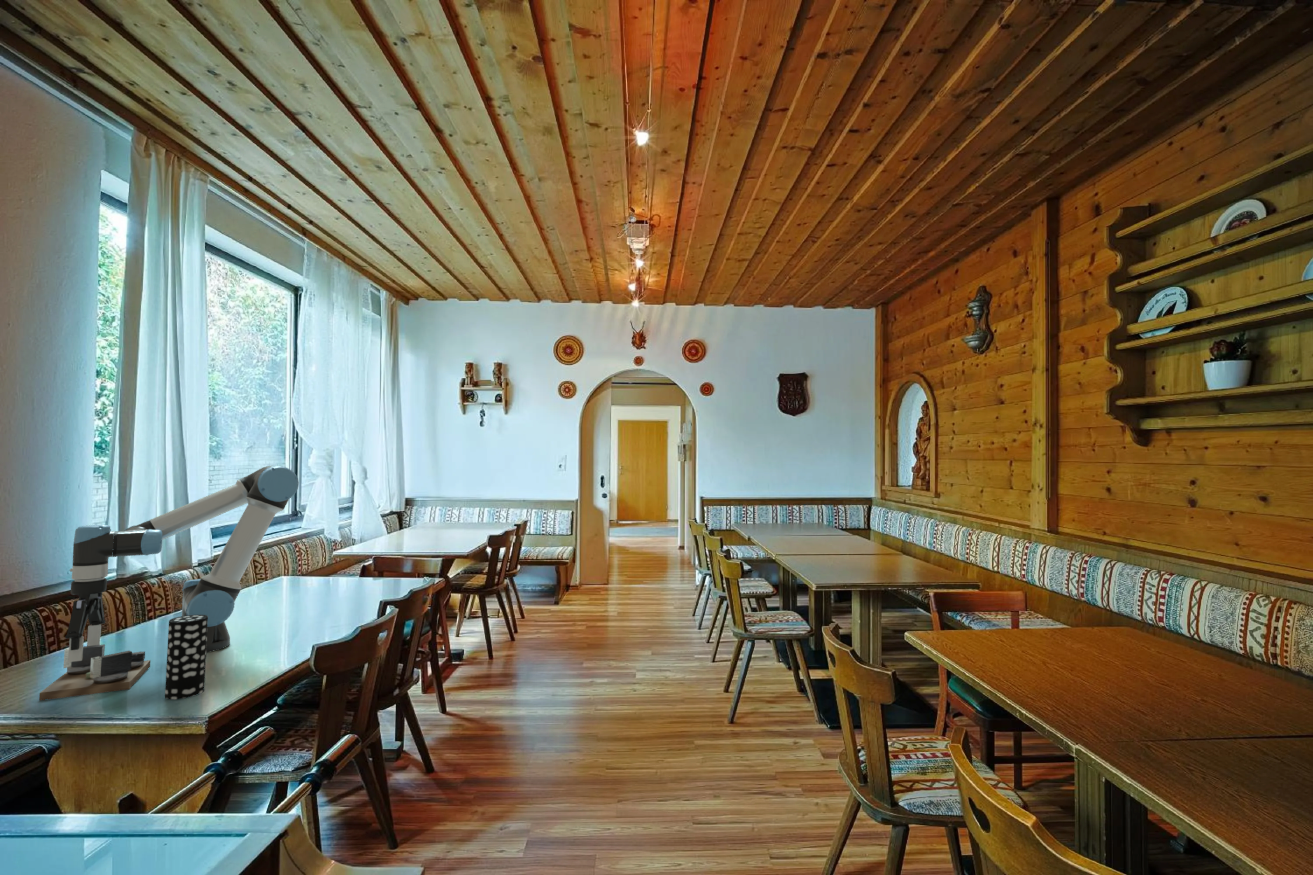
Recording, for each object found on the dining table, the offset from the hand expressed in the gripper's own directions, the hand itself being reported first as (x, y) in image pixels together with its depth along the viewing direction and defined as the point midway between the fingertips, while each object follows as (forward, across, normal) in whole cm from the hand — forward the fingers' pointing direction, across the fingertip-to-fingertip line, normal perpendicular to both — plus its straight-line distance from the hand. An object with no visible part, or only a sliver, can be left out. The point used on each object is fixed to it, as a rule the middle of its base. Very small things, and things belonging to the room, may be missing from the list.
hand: (84, 654), depth 170 cm
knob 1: (+5, 0, 0) cm, 5 cm away
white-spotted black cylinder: (+7, +26, +28) cm, 39 cm away
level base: (+7, +6, +5) cm, 10 cm away
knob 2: (+5, +12, +9) cm, 16 cm away
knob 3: (+5, +1, +10) cm, 11 cm away
